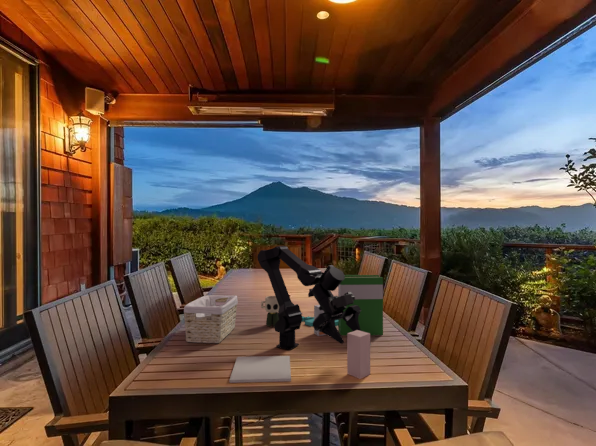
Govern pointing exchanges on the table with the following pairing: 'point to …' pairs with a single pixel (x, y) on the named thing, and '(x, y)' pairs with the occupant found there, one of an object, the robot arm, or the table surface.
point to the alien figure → (310, 320)
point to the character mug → (271, 309)
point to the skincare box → (316, 313)
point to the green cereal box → (364, 302)
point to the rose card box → (358, 354)
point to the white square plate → (261, 369)
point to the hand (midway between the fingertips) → (352, 339)
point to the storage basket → (210, 318)
